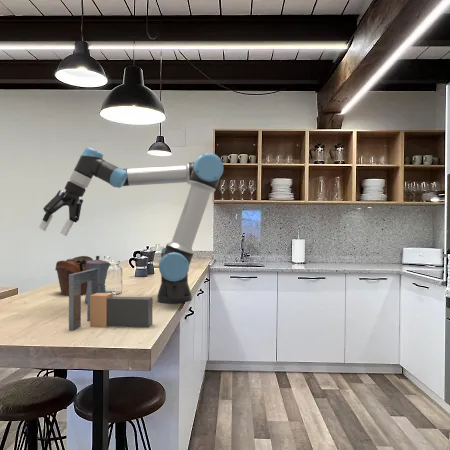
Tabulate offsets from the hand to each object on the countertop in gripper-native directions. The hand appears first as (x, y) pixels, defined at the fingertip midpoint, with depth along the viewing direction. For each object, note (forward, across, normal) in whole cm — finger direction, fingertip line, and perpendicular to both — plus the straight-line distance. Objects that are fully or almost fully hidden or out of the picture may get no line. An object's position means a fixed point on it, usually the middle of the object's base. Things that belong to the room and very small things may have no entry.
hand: (52, 232), depth 164 cm
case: (+28, -40, -2) cm, 49 cm away
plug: (+13, +14, +50) cm, 53 cm away
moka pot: (+21, -22, +19) cm, 36 cm away
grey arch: (+19, +15, +38) cm, 45 cm away
